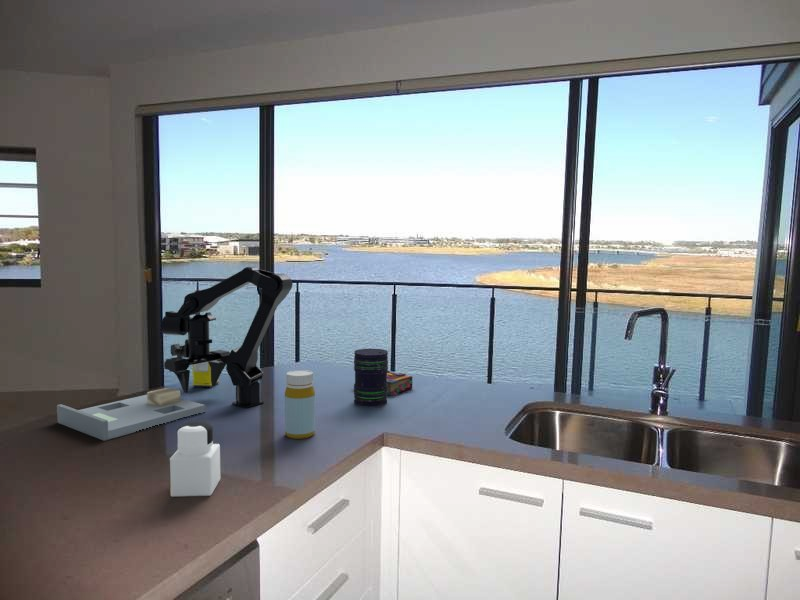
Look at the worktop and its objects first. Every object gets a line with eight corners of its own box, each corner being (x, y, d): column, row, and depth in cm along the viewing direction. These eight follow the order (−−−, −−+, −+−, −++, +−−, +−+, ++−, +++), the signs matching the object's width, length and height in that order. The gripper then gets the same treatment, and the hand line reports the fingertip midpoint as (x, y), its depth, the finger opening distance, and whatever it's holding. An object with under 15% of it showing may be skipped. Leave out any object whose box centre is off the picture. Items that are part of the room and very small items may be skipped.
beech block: (180, 401, 148) (180, 390, 148) (160, 406, 143) (160, 395, 143) (167, 398, 151) (167, 387, 151) (147, 403, 146) (147, 392, 146)
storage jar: (347, 404, 154) (347, 353, 153) (362, 396, 163) (363, 347, 162) (379, 409, 150) (379, 356, 149) (393, 400, 159) (393, 350, 158)
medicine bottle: (182, 480, 103) (181, 418, 102) (220, 479, 103) (219, 418, 102) (169, 497, 96) (168, 431, 94) (211, 496, 96) (209, 430, 95)
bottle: (319, 431, 131) (319, 371, 129) (305, 441, 124) (305, 377, 123) (294, 428, 133) (294, 368, 132) (279, 437, 126) (278, 374, 125)
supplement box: (219, 383, 176) (218, 350, 175) (210, 388, 170) (210, 354, 169) (201, 383, 177) (200, 350, 176) (192, 387, 171) (192, 353, 170)
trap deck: (205, 412, 145) (205, 395, 145) (104, 440, 123) (103, 421, 122) (157, 398, 157) (157, 383, 157) (57, 422, 135) (56, 405, 135)
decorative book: (377, 382, 182) (377, 367, 182) (416, 390, 172) (416, 374, 172) (354, 388, 173) (354, 373, 173) (393, 397, 163) (393, 381, 163)
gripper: (208, 329, 167) (209, 379, 168) (152, 337, 152) (153, 391, 153) (232, 333, 161) (233, 384, 162) (175, 341, 145) (177, 398, 147)
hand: (199, 389), depth 156 cm, fingers open, 9 cm apart
